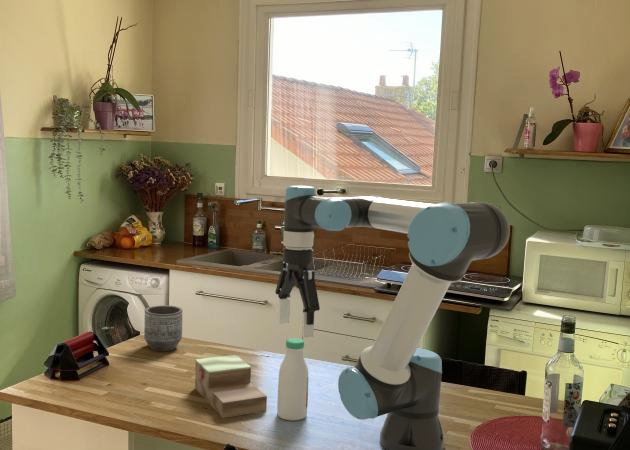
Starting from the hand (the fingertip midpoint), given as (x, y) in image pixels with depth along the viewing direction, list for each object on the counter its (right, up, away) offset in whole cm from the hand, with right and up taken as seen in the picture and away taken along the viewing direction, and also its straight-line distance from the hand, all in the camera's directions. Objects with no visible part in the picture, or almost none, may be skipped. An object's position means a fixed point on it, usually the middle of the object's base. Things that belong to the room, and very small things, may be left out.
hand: (295, 329), depth 180 cm
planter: (-45, -14, +53) cm, 71 cm away
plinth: (-18, -20, +11) cm, 30 cm away
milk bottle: (-1, -23, +2) cm, 23 cm away
